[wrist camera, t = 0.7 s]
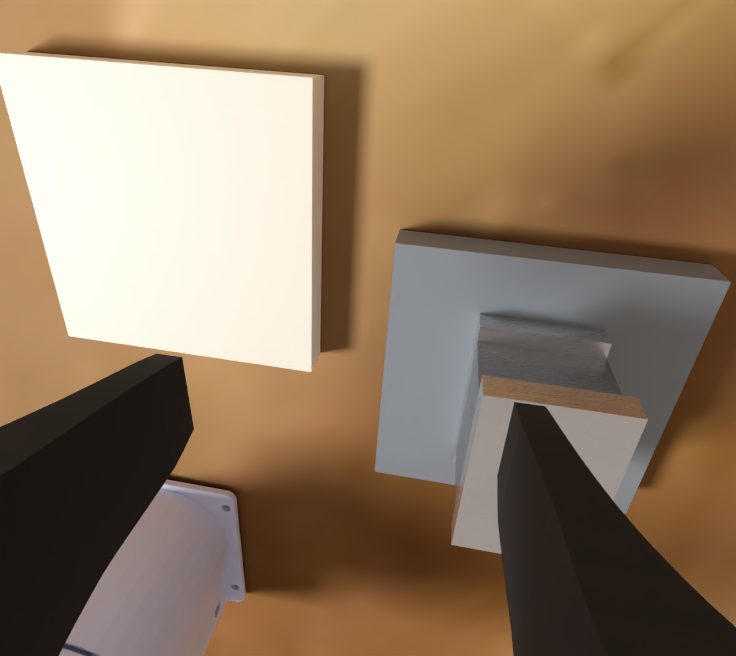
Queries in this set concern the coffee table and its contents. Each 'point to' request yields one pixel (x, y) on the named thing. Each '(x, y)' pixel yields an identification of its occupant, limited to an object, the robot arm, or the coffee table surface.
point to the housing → (545, 388)
